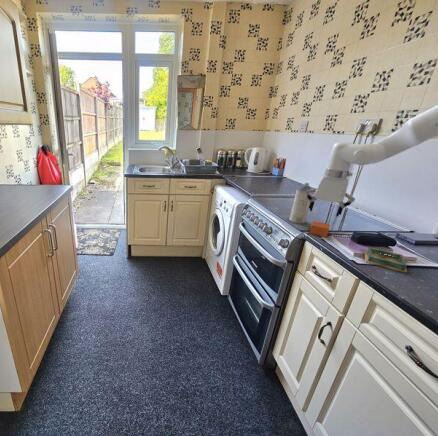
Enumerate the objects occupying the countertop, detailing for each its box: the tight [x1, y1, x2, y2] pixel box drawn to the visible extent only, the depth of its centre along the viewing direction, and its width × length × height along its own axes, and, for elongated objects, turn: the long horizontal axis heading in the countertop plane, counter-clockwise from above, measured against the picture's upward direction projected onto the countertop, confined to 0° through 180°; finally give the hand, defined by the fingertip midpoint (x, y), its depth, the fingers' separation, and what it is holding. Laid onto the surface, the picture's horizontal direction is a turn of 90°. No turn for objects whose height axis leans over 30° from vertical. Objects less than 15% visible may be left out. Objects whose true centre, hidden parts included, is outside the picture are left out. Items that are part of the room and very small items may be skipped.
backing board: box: [363, 246, 408, 274], centre depth 88 cm, size 11×11×3 cm
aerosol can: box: [288, 182, 314, 225], centre depth 120 cm, size 7×7×20 cm
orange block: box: [309, 220, 331, 238], centre depth 109 cm, size 6×6×4 cm
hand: (323, 213), depth 107 cm, fingers open, 9 cm apart
